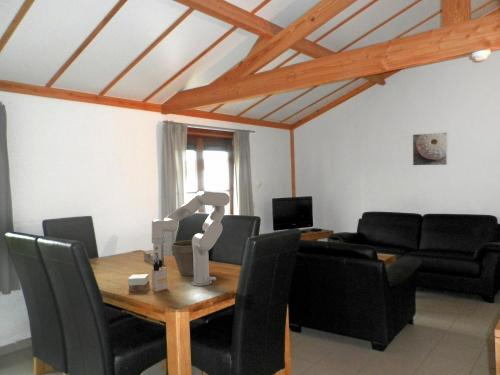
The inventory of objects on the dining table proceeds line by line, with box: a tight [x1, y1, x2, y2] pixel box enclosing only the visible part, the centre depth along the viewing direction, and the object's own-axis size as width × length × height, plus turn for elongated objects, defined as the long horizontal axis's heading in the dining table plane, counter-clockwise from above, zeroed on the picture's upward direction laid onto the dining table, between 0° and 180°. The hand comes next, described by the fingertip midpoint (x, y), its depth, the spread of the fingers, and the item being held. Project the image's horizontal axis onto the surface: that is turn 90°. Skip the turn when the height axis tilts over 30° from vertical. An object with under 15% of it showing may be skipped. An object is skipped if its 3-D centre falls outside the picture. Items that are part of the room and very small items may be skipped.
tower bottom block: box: [128, 280, 151, 292], centre depth 241 cm, size 10×10×4 cm
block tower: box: [143, 249, 165, 267], centre depth 317 cm, size 8×8×29 cm
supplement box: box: [151, 266, 169, 293], centre depth 238 cm, size 8×5×13 cm, turn 141°
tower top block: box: [127, 273, 150, 286], centre depth 241 cm, size 10×10×4 cm
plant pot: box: [170, 239, 194, 277], centre depth 278 cm, size 25×25×22 cm
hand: (157, 269), depth 237 cm, fingers open, 9 cm apart
